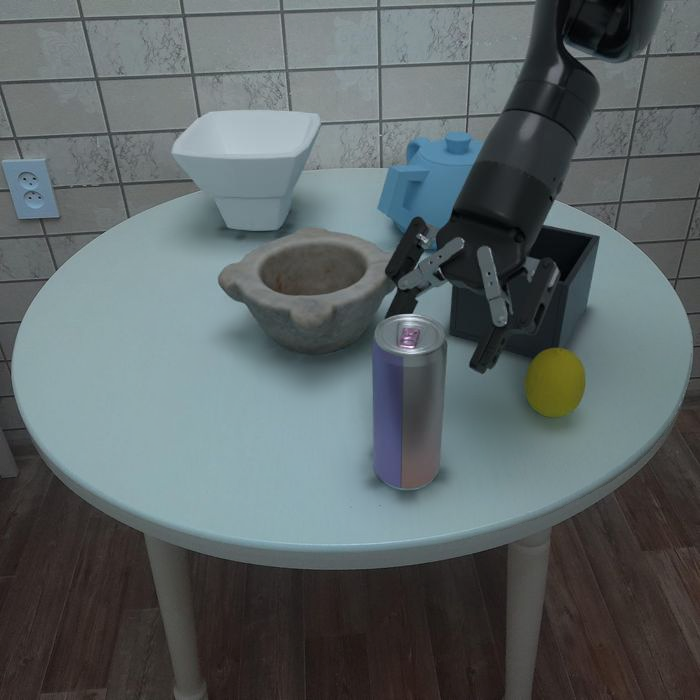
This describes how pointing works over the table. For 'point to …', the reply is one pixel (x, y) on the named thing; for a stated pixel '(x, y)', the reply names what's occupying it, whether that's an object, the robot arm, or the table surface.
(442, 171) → the teapot
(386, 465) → the beverage can
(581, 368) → the lemon
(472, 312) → the open box
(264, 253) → the mortar
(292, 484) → the table surface
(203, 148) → the bowl
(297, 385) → the table surface
